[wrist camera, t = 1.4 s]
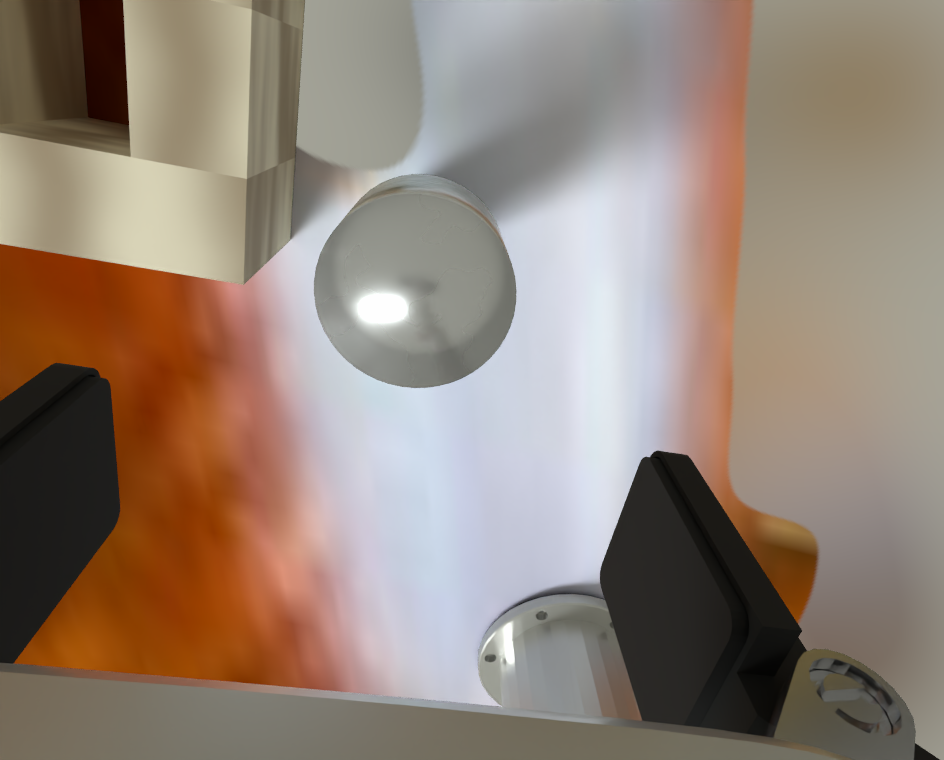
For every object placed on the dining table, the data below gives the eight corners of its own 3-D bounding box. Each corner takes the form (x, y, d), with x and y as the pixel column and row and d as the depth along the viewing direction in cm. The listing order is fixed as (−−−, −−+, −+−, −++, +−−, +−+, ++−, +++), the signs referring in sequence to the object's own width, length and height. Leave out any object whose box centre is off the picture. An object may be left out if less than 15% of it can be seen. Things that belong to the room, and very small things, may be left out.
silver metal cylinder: (505, 171, 31) (537, 215, 20) (479, 300, 34) (493, 400, 23) (368, 143, 30) (322, 174, 19) (353, 279, 33) (306, 372, 22)
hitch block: (309, -81, 26) (256, -147, 19) (290, 240, 32) (243, 284, 25) (-42, -164, 24) (-249, -271, 17) (6, 189, 30) (-132, 221, 23)
